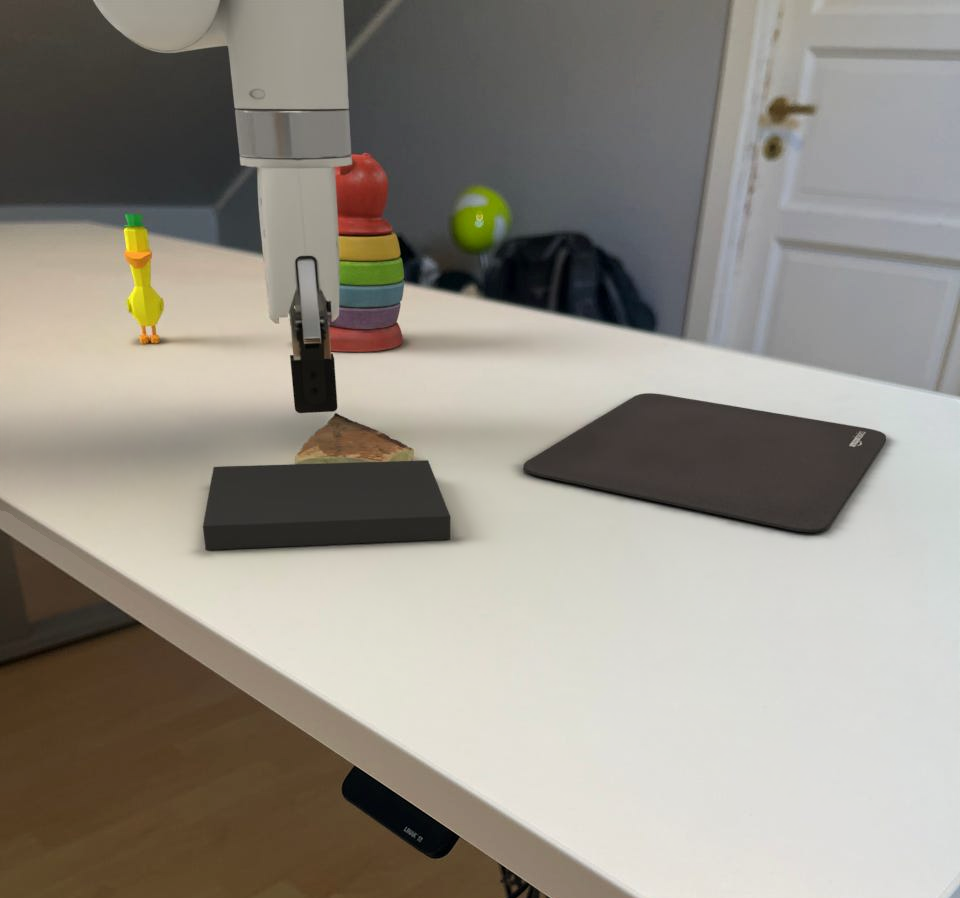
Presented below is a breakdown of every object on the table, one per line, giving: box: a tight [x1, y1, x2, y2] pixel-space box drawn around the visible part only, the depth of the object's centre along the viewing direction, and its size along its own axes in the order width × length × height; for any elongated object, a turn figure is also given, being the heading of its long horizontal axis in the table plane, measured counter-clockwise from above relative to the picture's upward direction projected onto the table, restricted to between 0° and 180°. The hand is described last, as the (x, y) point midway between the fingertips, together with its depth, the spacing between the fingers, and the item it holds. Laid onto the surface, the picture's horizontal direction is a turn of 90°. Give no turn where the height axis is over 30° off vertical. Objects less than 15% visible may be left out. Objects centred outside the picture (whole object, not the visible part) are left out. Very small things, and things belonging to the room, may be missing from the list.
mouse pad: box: [522, 392, 887, 533], centre depth 73 cm, size 25×21×1 cm
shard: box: [294, 412, 415, 464], centre depth 70 cm, size 11×8×2 cm
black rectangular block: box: [202, 459, 451, 551], centre depth 60 cm, size 14×10×2 cm
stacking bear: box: [329, 152, 405, 353], centre depth 98 cm, size 11×10×18 cm
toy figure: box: [123, 213, 165, 345], centre depth 96 cm, size 7×4×12 cm, turn 14°
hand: (316, 408), depth 75 cm, fingers closed
